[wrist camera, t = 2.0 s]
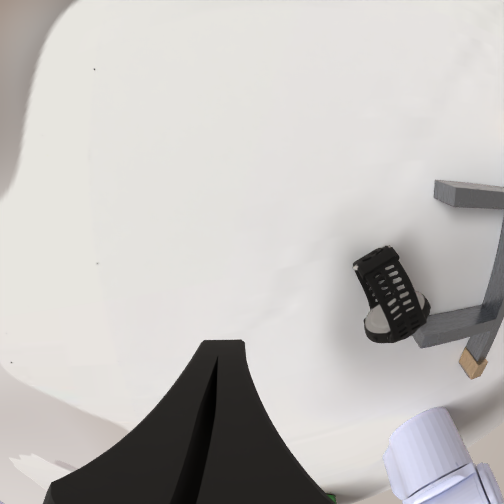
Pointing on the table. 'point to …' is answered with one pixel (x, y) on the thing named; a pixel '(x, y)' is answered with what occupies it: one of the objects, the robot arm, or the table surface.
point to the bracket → (497, 296)
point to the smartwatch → (389, 298)
